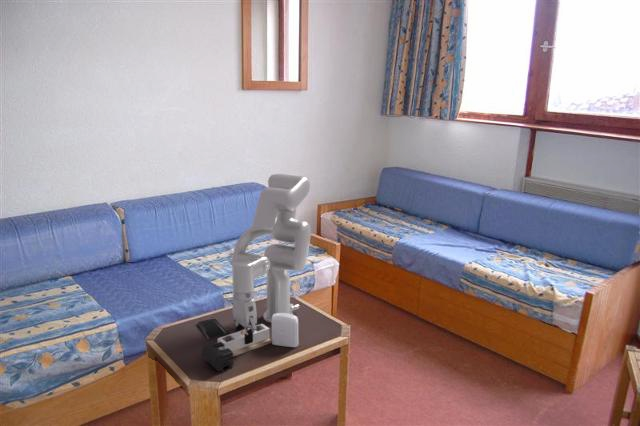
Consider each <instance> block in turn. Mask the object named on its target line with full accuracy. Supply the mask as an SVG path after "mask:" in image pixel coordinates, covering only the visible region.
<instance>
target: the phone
mask: <svg viewBox="0 0 640 426" xmlns="http://www.w3.org/2000/svg"><path fill="white" fill-rule="evenodd" d="M197 326H198V328H199V329H200V330H201V332H202V333H203V334H204V336H205V337H206V339H207V340H215V339H218V338H221V337H224V336H227V335H228V332H227V330H226V329H225V328H224V327H223V326H222V324H221V323H220V322H219V321H218V320H217V319H216V318H210V319H207V320H206V319H205V320H200V321H197Z"/></svg>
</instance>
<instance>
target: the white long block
mask: <svg viewBox="0 0 640 426" xmlns="http://www.w3.org/2000/svg"><path fill="white" fill-rule="evenodd" d="M258 325H260V326H262V330H260V331H257V330H255V331H254V333H253V342H252V343H249V344H245V334H246V333H245V328H244V330H241V331H238V332H236V331H235V332H233V333H229V334H227V336H228V335H230V336H231V341H229V342H226V336H223V337H219V338H217V343H219V342H221V343H223V344H224V346H223V347H220V348H219V349H221V350H224V349H227V348H229V349H230V350H231V351H235V350H238V349H241V348H244V347H246V346H249V345H252V344H255V343H257V342H260V341H263V340H266V339H268V338H269V339H271V338H270V327H268V326H267V325H265V324H263V323H261V324H256V327H257V326H258ZM249 329H250V327H248V330H249Z"/></svg>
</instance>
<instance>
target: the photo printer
mask: <svg viewBox="0 0 640 426" xmlns="http://www.w3.org/2000/svg"><path fill="white" fill-rule="evenodd" d="M271 344H272V345H274V346H279V347H288V348H297V347H298V346H299V317H298V316H296V315H295V314H294V315H291V314H287V313H277V314H273V316H272V323H271Z"/></svg>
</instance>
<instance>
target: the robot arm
mask: <svg viewBox="0 0 640 426" xmlns="http://www.w3.org/2000/svg"><path fill="white" fill-rule="evenodd" d="M267 185H268V187H265V188H262V190H261V191H260V194H259V197H258V201H257V205H256V209H255V212H254V216H253V220H252V224H251V226H250V227H249V228H247V229H246V230H245V231H244V232H243V233H242V234H241V235H240V236H239V238H238V239H237V241H236V243H235V245H234V248H233V249H234V250H233V252H232V257H231V268H232V269H231V270H232V277H231V278H232V314H231V315H232V318H233V321H234V327H235V333H236V332H238V331H241V330H244V329H245V333H246V334H245V344H249V343H252V342H253V333H254V331H255V330H256V325H258V315H257V306H256V300H255V279H256V278H259V277H263V276H264V275H266V311H265V312H264V313H263V315H262V316H263V317H262V318H263V320H264V321H265V322H267V323H270V324H272V316H273V314H277V313H287V314H291V315H294V316H295V314H294V313H293V311H294V310H298V309H300V305H299V304H293V303H291V276H290V274H289V273H290V272H289V271H292V272H302V271H303V270H304V269H305V268H306V266H307V262H308V257H309V256H308V255H309V251H310V244H311V237H312V236H311V234H312V229H311V225H310V224H309V223H308V222H307V221H305V220H300V219H296V216H297V215H296V213H297V208H298V207H299V206H300V204H301V203H302V202H303V201H304V200H305V198H306V197H307V196H308V194H309V192H310V189H311V183H310V180H309V179H308V178H307V177H306V176H303V175H292V174H284V173H274V174H271V175H270V176H269V177H268V180H267ZM268 234H271V236H272V238H273V239H274V240H275V241H278V242H283V243H289V244H294V246H291V245H285V244H277V243H274V244H269V245H268V246H267V247H266V248H265V250H264V253H263V255H260V254H255V253H252V252H251V253H250V252H247V249H248V247H249V245H250V244H251V243H252V242H253V241H254V240H256V239H258V238H260V237H263V236H265V235H268ZM248 328H250V329H249V330H248Z"/></svg>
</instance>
